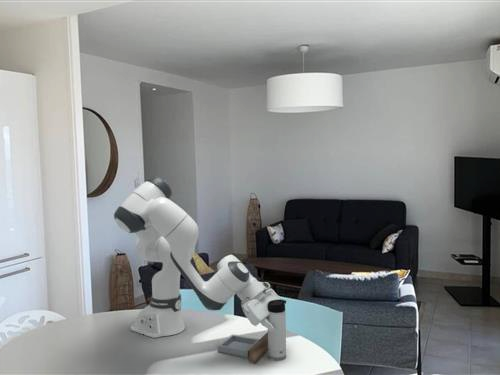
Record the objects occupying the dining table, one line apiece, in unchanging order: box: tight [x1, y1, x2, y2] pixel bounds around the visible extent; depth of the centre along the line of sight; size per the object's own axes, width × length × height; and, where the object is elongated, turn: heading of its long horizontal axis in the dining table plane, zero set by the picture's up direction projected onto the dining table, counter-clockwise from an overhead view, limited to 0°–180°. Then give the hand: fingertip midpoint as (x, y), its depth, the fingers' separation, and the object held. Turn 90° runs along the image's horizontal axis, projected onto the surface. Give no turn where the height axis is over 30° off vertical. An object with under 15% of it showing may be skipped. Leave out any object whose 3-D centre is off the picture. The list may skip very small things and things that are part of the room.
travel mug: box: [267, 298, 287, 361], centre depth 154 cm, size 6×7×20 cm
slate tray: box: [217, 333, 260, 359], centre depth 161 cm, size 12×11×3 cm
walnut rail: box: [249, 331, 268, 365], centre depth 158 cm, size 2×18×5 cm, turn 154°
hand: (278, 325), depth 153 cm, fingers open, 8 cm apart
